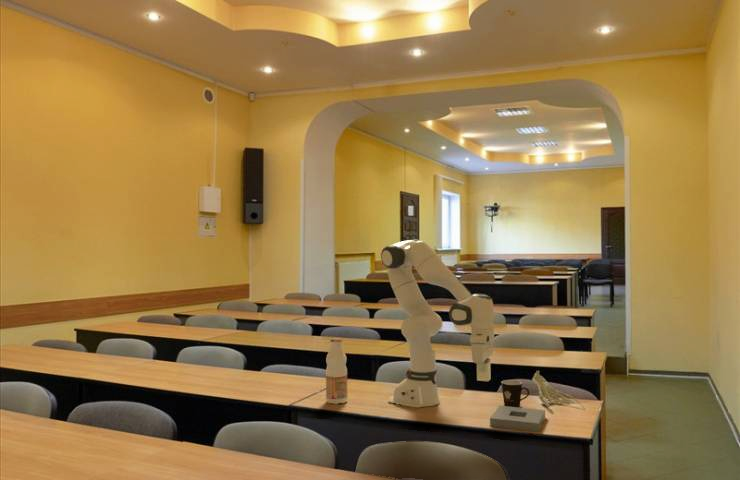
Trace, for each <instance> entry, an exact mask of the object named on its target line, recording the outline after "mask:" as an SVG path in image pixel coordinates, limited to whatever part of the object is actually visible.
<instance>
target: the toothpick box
mask: <svg viewBox="0 0 740 480" xmlns="http://www.w3.org/2000/svg"><path fill="white" fill-rule="evenodd" d="M491 371H492V369H491V358H489V359H486V360H485V361H484V372H479V366H478V363H476V381H478V382H479V381H481V382H489V381H490V380H491V375H492V374H491Z"/></svg>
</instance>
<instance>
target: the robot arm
mask: <svg viewBox="0 0 740 480" xmlns="http://www.w3.org/2000/svg"><path fill="white" fill-rule="evenodd" d="M380 258H381V262H382V264H383V266H385V267H386V269H387V268H388V269H387V275H388V276H387V277H388V280H389V283H390V286H391V289H392V291H393V293H394V295H395V298H396V300H397V302H398V305H399V307H400V308H401V309H402V310H404V311H405V312H406V313H407V315H408V317H407V318H405V319H404V320H403V321H402V323H401V326H400V331H401V334H402V335H403V337H404V338H405V340H406V342H407V345H408V351H409V360H410V361H409V363H410V364H409V366H410V368H409V369H408V370H406V371H405V374H404V375H405V376H406V378H404V379H403V380H402V381H401V382H399V383H398V384H397V385H395V387H394V390H393V395H391V396H389V398H388V403H389V402H390V403H389V404H393V403H396V404H395V405H399V404H401V405H400V406H407V407H410V408H411V407H412V408H422V407H423V408H424V407H432V406H435V405H439V404H440V403H441V402H440V401H441V400H440V397H439V394H438V386H437V381H438V374H437V373H438V371H437V369H436V366H437V365H436V351H435V350H434V348H433V346H432V342H431V337H434V336H435V335H436V334H438V333H439V332H440V331H441V329H442V327H443V320H442V317H441V316H440V315H439V314H438V313H436V312H435V311H434V309H433V308H432V307H431V306H430V304H429V303H428V301H427V300H426V299H425V297H424V296H423V294H422V292H421V290H420V287H419V284H418V283H417V281H416V278H415V276H414V273H413V271H412V270H413V269H412V268H414V269H415V271H416V272H417V273H418V275H419V276H420V277H421V279H422V280H423V281H424V282H425V283H427V284H429V285H433V286H438V287H442V288H444V289H445V290H447V291H449V293H451V295H453V297H454V298H455V299H456V300H457V302H455V303H453V304H452V305H450V307H449V311H448V316H449V320H450V321H451V322H452V324H454V325H455V326H459V327H463V326H471V332H470V337H469V343H470V345H471V346H470V348H471V350H470V351H471V359H472V362H473V363H474V364H477V363H478V366H479V372H484V361H485V360H486V359H490V358H491V356H493V354H494V345H493V343H494V342H493V341H495V327H494V316H495V311H494V301H493V298H492V297H491V296H489V295H487V294H485V293H471V291H470V290H469V289H468V287H466V286H465V284H464V283H463V282H462V281H461V280H460V279H459V278H458V276H457V275H456V274H455V273H453V272H452V270H450V268H448V267H447V265H446V264H445V263H444V262H443V261H442V259H441V258H440V257H439V256H438V254H437V252H435V250H434V249H433V248H432V247H431V246H430V245H429V244H428V243H426V242H425V241H423V240H420V239H413V238H411V239H409V240H402V241H399V242H395V243H393V244H389V245H386V246H385V247H384V248H382V250H381V253H380Z"/></svg>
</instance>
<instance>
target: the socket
mask: <svg viewBox="0 0 740 480" xmlns="http://www.w3.org/2000/svg"><path fill="white" fill-rule="evenodd" d="M545 419H546V409H535V408H526V407H508V406H504V405H498V407H497V408H496V409H495V411H494V412H493V413H492V415H491V416H490V417H489V426H490V427H495V428H497V427H498V428H504V429H514V430H520V431H521V430H523V431H529V432H538V433H539V432H540V430H541V428H542V426H543V424H544V422H545Z"/></svg>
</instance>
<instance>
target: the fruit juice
mask: <svg viewBox="0 0 740 480" xmlns="http://www.w3.org/2000/svg"><path fill="white" fill-rule="evenodd" d="M342 341H343V340H342V338H340V337H333V338H330V348H329V349H328V353H327V355H326V358H325V362H326V370H325V392H326V394H325V396H326V397H325V398H326V402H329V403H335V404H334V405H339V404H338V403H343V404H345V403H344V402H346V403H347V402H348V368H347V365H346V364H347V355H346V353H345V352H344V349H343V347H342ZM329 403H328V404H329Z"/></svg>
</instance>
